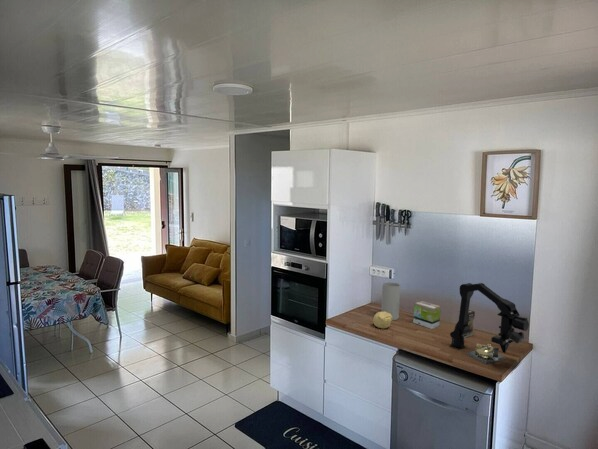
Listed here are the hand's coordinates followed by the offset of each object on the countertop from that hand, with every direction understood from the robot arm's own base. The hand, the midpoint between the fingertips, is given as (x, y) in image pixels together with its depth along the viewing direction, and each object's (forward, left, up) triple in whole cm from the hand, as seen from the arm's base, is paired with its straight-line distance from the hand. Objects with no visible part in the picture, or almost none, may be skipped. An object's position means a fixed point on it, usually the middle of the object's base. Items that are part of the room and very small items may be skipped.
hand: (504, 352), depth 222 cm
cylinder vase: (-86, -10, -7) cm, 87 cm away
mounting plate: (-10, -2, -6) cm, 12 cm away
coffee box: (-40, +15, -7) cm, 43 cm away
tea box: (-65, +5, -7) cm, 65 cm away
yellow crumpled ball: (-73, -27, -7) cm, 78 cm away
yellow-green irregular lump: (-7, -3, -5) cm, 9 cm away
